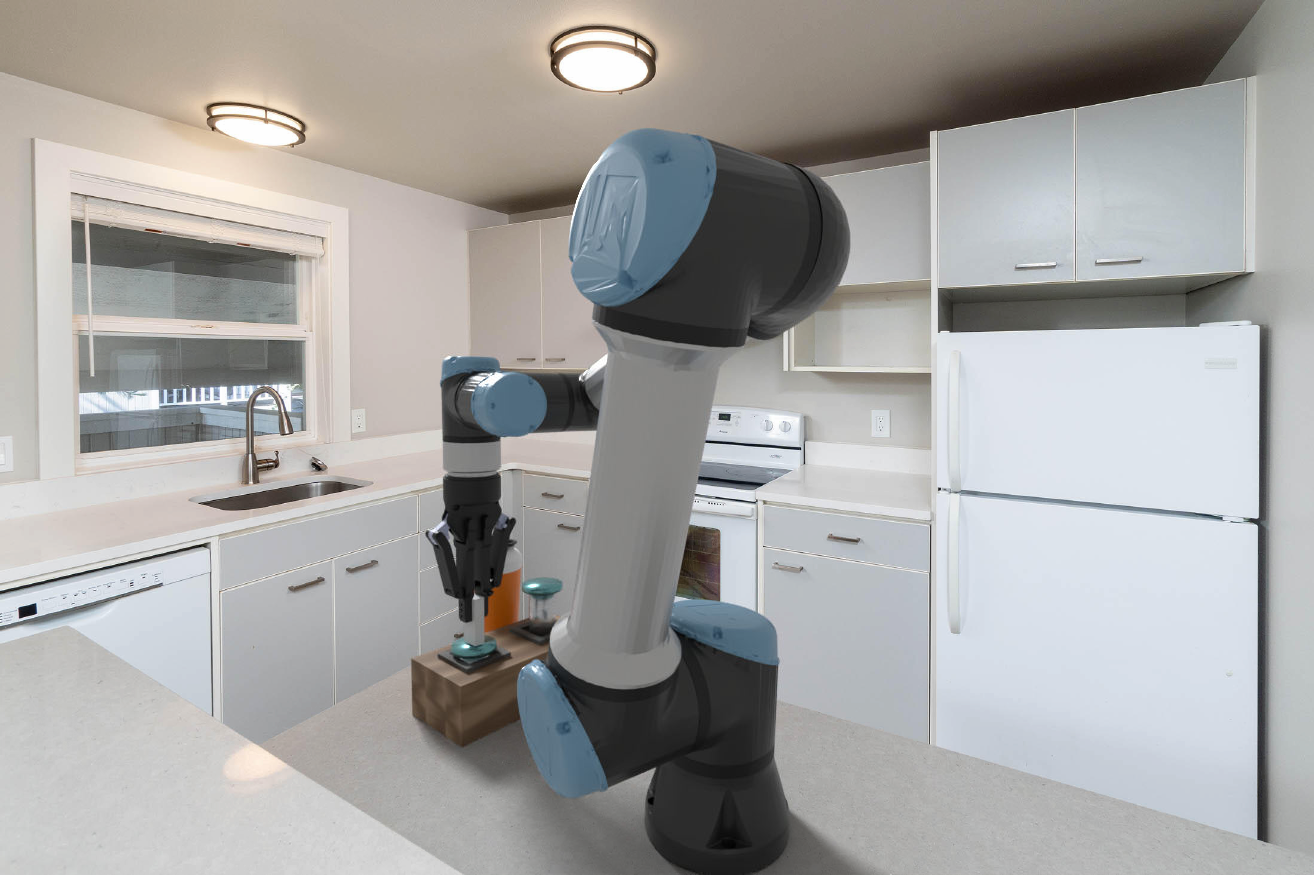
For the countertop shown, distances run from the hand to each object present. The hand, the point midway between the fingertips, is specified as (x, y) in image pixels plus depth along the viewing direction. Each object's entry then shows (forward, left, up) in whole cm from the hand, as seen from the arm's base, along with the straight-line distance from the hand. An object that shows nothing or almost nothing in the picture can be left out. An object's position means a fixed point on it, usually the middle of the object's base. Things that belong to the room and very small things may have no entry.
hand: (474, 641), depth 89 cm
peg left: (0, 0, -10) cm, 10 cm away
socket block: (0, -6, -10) cm, 12 cm away
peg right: (0, -12, -4) cm, 13 cm away
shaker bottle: (+12, -12, -10) cm, 20 cm away
